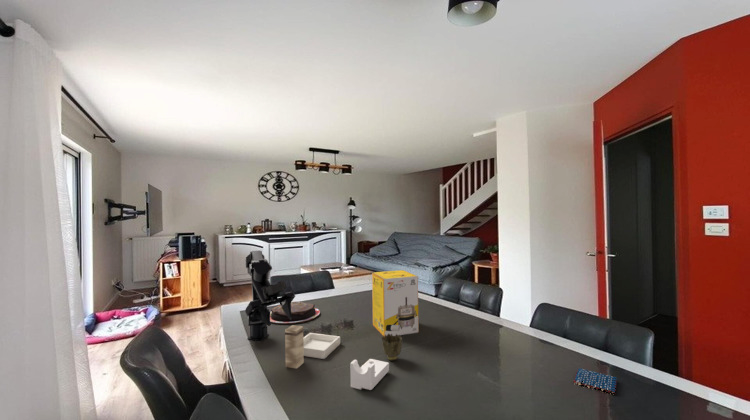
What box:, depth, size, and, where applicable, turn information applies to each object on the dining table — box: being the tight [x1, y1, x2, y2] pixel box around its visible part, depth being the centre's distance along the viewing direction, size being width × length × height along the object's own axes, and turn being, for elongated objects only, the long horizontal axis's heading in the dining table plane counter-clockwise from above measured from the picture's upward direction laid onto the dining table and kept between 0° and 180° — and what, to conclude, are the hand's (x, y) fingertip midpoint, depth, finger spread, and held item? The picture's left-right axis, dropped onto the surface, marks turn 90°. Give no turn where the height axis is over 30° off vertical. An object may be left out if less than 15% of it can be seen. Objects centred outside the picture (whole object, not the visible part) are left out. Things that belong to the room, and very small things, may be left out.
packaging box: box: [371, 269, 420, 337], centre depth 146 cm, size 16×16×25 cm
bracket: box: [349, 358, 390, 391], centre depth 102 cm, size 13×7×8 cm, turn 153°
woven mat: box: [573, 367, 618, 394], centre depth 98 cm, size 10×11×2 cm
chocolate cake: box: [270, 301, 321, 325], centre depth 167 cm, size 28×28×7 cm
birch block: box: [284, 324, 305, 369], centre depth 112 cm, size 5×5×13 cm
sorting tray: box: [303, 332, 341, 360], centre depth 125 cm, size 14×14×3 cm
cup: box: [381, 334, 403, 362], centre depth 116 cm, size 8×7×8 cm
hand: (280, 321), depth 117 cm, fingers open, 9 cm apart
